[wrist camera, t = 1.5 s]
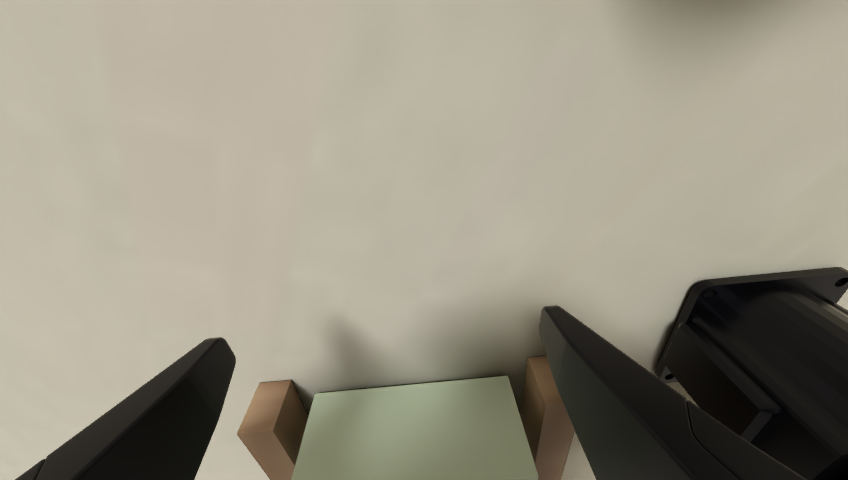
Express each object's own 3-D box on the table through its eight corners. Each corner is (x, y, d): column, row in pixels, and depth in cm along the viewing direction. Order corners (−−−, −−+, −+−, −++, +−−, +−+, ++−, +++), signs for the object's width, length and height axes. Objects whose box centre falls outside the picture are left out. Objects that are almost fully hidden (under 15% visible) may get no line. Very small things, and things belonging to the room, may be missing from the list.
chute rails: (559, 354, 16) (582, 402, 14) (534, 482, 23) (547, 526, 21) (259, 382, 16) (236, 434, 14) (327, 500, 23) (319, 546, 21)
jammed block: (507, 375, 16) (538, 476, 12) (503, 437, 19) (526, 533, 16) (314, 393, 16) (285, 499, 13) (340, 452, 19) (323, 551, 16)
